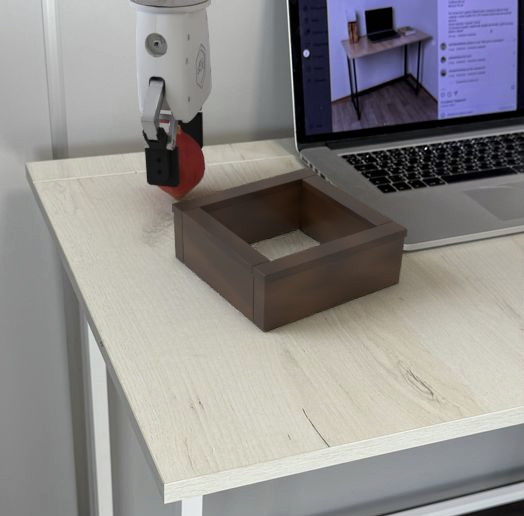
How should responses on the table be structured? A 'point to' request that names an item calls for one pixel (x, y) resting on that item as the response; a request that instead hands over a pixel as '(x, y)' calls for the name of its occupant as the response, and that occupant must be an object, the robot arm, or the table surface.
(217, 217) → the wooden box
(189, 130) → the robot arm
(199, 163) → the red rounded tapered piece
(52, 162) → the table surface
